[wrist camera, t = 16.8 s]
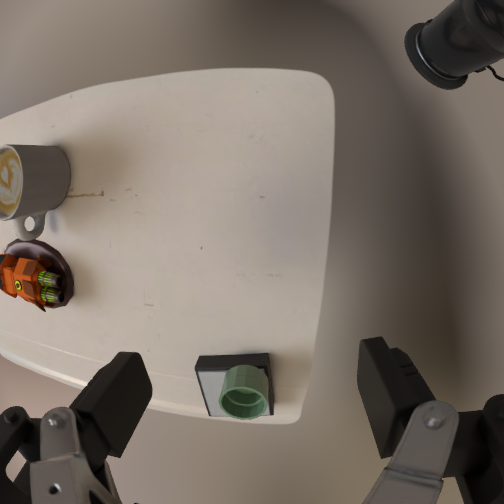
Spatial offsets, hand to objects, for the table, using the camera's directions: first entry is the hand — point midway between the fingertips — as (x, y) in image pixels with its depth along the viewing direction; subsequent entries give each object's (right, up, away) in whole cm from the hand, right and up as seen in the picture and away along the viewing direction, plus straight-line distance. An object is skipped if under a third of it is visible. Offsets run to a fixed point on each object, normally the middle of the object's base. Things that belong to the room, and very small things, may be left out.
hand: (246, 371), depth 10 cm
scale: (-2, -15, +31) cm, 35 cm away
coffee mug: (-31, +14, +26) cm, 43 cm away
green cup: (-1, -13, +27) cm, 30 cm away
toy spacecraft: (-37, +1, +30) cm, 48 cm away
